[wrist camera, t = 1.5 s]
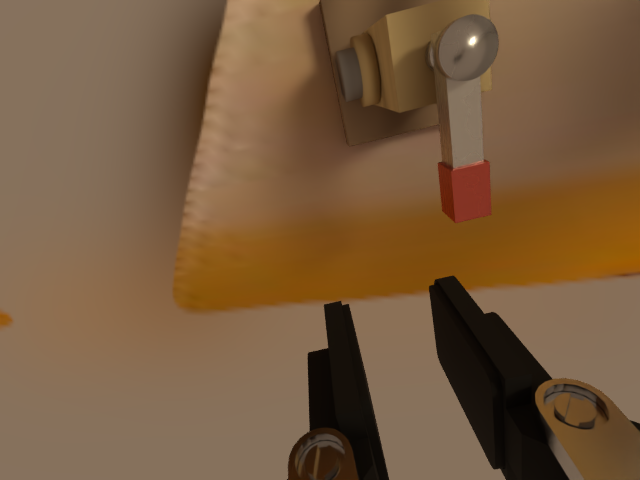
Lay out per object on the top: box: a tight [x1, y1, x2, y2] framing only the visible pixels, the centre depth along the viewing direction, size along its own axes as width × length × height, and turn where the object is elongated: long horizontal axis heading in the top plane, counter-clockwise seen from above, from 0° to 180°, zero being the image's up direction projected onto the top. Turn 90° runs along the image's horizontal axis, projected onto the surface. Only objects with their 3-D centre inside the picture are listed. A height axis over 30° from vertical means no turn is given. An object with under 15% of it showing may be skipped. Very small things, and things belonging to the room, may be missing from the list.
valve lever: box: [425, 14, 499, 223], centre depth 19 cm, size 10×3×3 cm, turn 13°
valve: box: [319, 0, 492, 147], centre depth 23 cm, size 10×10×9 cm
